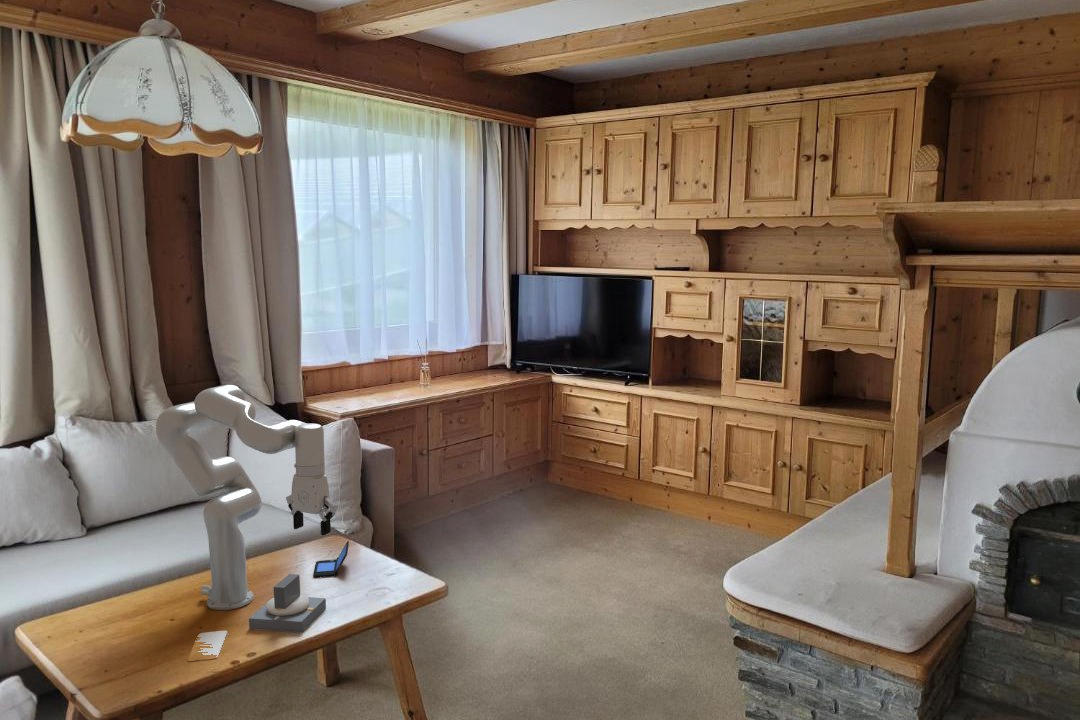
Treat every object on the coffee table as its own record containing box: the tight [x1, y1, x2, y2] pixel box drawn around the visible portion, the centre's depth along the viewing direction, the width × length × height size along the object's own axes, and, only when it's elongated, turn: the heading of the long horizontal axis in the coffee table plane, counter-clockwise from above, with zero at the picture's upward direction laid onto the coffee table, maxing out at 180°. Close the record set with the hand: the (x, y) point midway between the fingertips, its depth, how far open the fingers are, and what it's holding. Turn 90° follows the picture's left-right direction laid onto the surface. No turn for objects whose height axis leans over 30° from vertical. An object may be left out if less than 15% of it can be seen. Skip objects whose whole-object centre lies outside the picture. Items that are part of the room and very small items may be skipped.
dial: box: [266, 573, 309, 616], centre depth 220 cm, size 11×11×8 cm
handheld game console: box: [312, 540, 350, 579], centre depth 256 cm, size 12×11×7 cm
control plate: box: [248, 596, 327, 633], centre depth 221 cm, size 15×15×3 cm
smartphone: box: [194, 630, 228, 658], centre depth 206 cm, size 7×1×15 cm
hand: (312, 530), depth 220 cm, fingers open, 9 cm apart
